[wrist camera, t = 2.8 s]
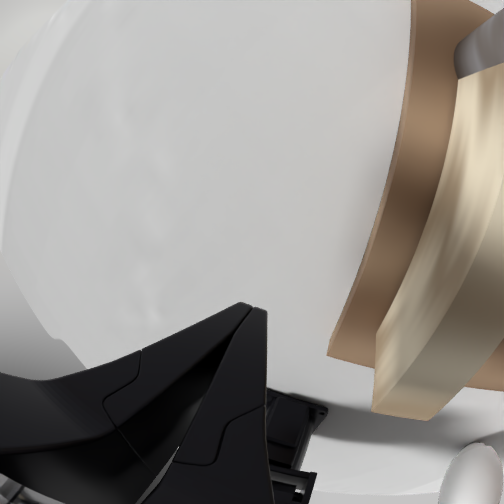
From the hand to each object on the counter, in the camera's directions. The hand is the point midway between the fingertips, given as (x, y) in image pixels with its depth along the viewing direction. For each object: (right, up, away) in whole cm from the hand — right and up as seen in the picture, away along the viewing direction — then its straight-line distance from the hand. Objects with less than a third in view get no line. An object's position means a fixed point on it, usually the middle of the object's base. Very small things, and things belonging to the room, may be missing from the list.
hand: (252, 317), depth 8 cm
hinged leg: (+9, +4, +1) cm, 10 cm away
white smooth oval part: (+25, -20, +9) cm, 34 cm away
